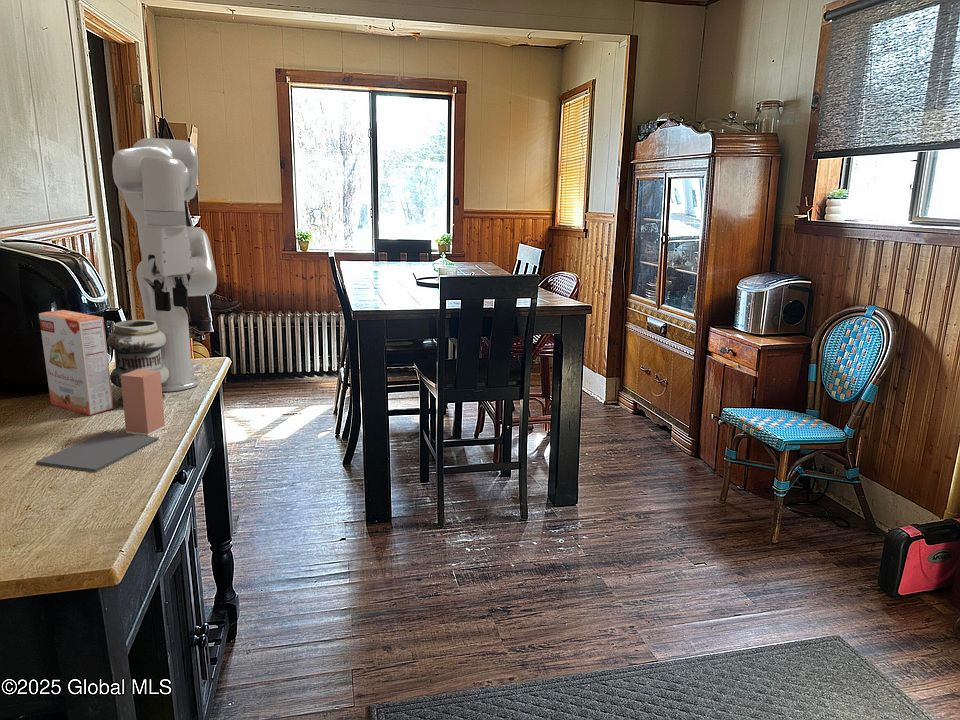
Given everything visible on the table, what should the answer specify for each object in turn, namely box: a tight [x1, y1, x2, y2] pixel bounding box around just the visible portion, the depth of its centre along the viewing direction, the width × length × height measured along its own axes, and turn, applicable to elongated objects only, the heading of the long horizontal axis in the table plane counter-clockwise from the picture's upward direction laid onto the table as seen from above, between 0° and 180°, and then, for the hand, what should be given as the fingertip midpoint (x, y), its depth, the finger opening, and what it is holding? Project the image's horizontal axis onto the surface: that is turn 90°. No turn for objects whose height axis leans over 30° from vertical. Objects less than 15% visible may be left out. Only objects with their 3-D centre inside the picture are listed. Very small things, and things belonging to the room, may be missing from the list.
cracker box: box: [38, 309, 114, 417], centre depth 143 cm, size 14×6×21 cm, turn 62°
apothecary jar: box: [106, 319, 169, 405], centre depth 150 cm, size 12×12×18 cm
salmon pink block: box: [121, 369, 166, 436], centre depth 132 cm, size 5×5×12 cm
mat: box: [36, 430, 159, 473], centre depth 122 cm, size 16×12×1 cm
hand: (172, 307), depth 138 cm, fingers open, 4 cm apart
